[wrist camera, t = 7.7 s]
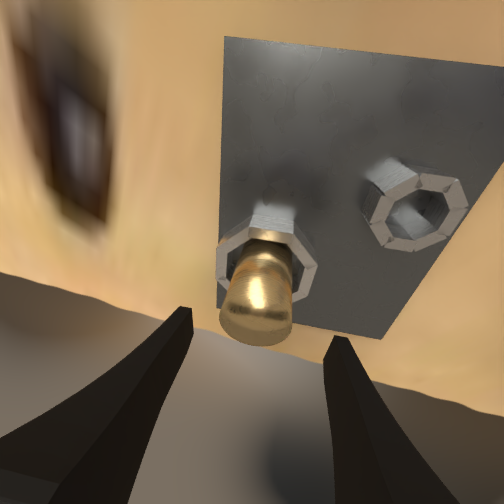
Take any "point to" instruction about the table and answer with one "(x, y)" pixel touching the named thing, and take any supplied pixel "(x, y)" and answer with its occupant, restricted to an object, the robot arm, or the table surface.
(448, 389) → the table surface
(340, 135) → the fitting board
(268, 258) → the brass cylinder
